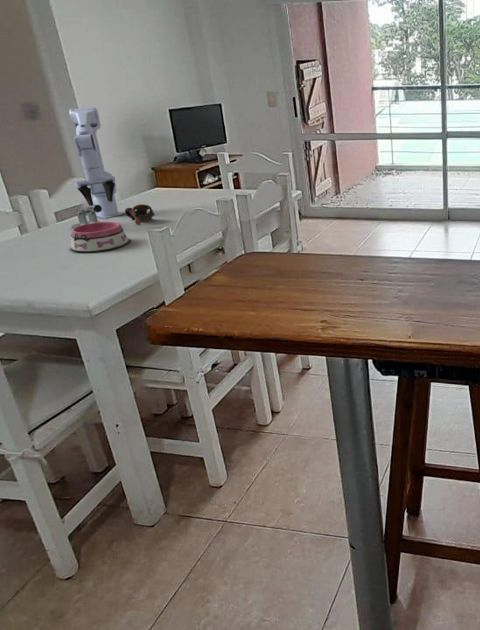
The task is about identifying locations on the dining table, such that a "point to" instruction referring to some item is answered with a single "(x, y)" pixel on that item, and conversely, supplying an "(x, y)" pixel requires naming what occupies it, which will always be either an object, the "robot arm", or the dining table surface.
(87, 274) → the dining table surface
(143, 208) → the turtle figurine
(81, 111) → the robot arm
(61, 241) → the dining table surface
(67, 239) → the dining table surface
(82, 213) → the tap bracket
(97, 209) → the tap lever
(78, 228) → the dog bowl
